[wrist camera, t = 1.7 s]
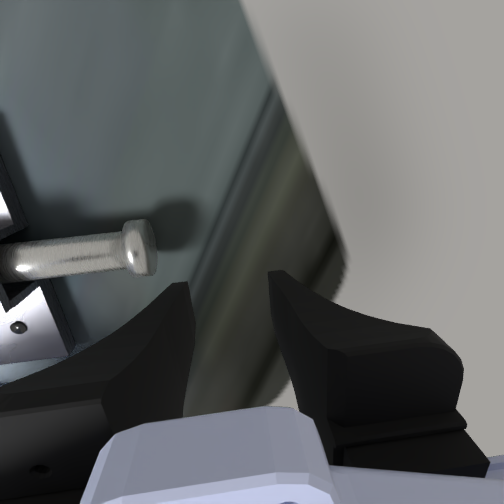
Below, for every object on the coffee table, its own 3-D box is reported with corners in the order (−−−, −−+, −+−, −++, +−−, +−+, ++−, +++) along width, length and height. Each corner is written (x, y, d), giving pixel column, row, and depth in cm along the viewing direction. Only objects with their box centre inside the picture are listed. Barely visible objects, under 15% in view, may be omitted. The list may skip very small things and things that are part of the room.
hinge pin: (149, 212, 19) (134, 228, 16) (160, 261, 21) (148, 286, 18) (-72, 236, 19) (-135, 258, 15) (-45, 285, 20) (-98, 315, 17)
